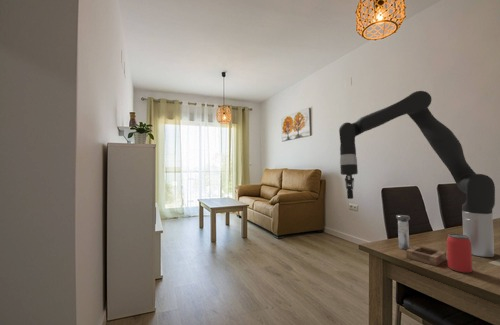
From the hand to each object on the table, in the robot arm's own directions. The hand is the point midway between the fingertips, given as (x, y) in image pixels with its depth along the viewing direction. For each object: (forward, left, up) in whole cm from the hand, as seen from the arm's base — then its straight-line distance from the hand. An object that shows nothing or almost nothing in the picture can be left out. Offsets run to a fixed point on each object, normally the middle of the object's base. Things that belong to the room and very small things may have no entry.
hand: (350, 198), depth 112 cm
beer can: (-7, +37, -22) cm, 44 cm away
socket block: (-9, +26, -22) cm, 36 cm away
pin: (-16, +15, -22) cm, 31 cm away
